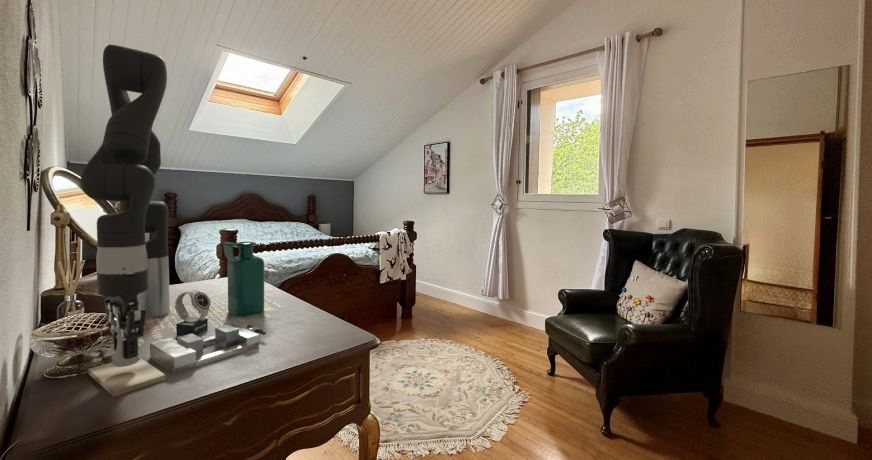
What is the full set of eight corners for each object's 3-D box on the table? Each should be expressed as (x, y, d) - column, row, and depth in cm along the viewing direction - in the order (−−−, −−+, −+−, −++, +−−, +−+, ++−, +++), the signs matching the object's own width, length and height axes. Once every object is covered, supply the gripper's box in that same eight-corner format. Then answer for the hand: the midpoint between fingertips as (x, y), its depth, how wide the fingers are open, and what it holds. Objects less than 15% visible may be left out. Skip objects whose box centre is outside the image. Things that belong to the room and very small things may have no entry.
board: (88, 373, 74) (88, 368, 74) (137, 360, 81) (137, 355, 81) (113, 396, 67) (113, 391, 66) (165, 379, 73) (165, 374, 73)
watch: (200, 337, 94) (199, 295, 93) (170, 335, 95) (169, 293, 94) (214, 329, 100) (214, 289, 99) (186, 327, 100) (185, 287, 99)
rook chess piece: (122, 357, 76) (121, 319, 75) (145, 357, 76) (144, 319, 75) (104, 367, 71) (103, 327, 71) (129, 367, 72) (128, 327, 71)
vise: (150, 358, 82) (149, 338, 82) (245, 331, 100) (245, 315, 99) (174, 374, 75) (174, 353, 75) (271, 342, 93) (271, 325, 93)
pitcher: (252, 306, 121) (252, 239, 119) (266, 311, 116) (267, 241, 114) (220, 313, 113) (220, 241, 111) (234, 319, 108) (234, 244, 106)
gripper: (85, 265, 73) (88, 350, 74) (111, 277, 65) (114, 372, 66) (132, 261, 79) (135, 339, 80) (161, 271, 71) (163, 357, 73)
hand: (125, 353), depth 73 cm, fingers closed on rook chess piece, 4 cm apart
